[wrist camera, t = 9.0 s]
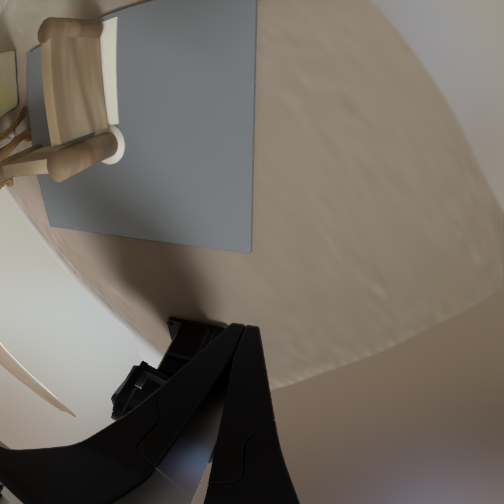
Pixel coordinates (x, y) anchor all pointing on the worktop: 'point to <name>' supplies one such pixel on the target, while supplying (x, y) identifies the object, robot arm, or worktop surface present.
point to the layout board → (166, 127)
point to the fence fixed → (60, 158)
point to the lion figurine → (13, 141)
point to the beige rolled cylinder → (72, 78)
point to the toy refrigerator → (8, 82)
